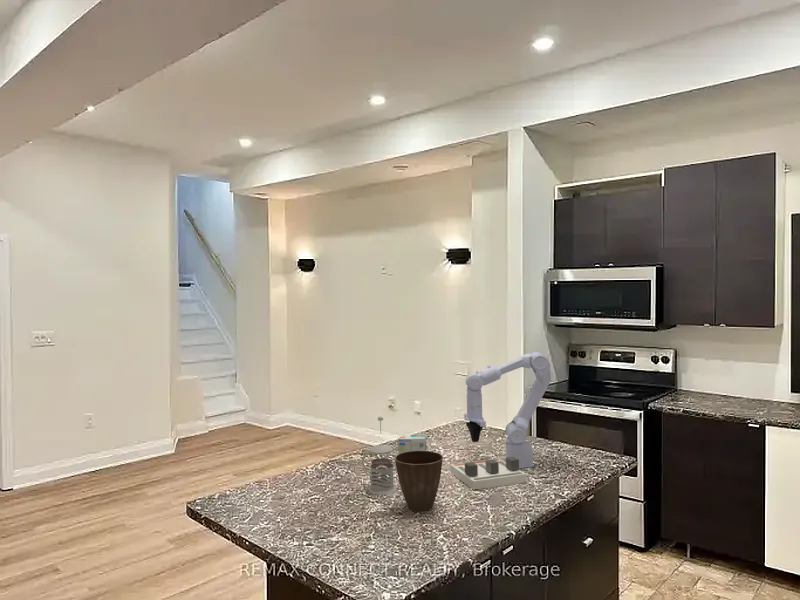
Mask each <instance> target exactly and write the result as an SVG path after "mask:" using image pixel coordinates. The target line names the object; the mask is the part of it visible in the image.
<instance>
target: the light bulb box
mask: <svg viewBox="0 0 800 600" xmlns="http://www.w3.org/2000/svg"><path fill="white" fill-rule="evenodd" d="M397 445H398V446H397V448H398V449H397V450H398V454H401V453H404V452H409V451H428V450H427V449H428V448H427V434H399V436H398V438H397Z"/></svg>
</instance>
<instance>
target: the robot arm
mask: <svg viewBox="0 0 800 600" xmlns="http://www.w3.org/2000/svg"><path fill="white" fill-rule="evenodd" d="M520 368H525V369H532V371H533V373H534V376H535V380H534V382H533V384H532V385H531V388H530V390H529V391H528V394H527V395H526V397H525V399H524V400H523V403H522V405H521V407H520V408H519V410H518V412H517V413H516V415H515V416H513V418H512V420H511V421H510V422H509V423H508V424H506V426H505V428H504V429H505V433H506V436H507V438H506V439H505V456H506V457H505V459H506V458H507V457H515V458H517V459H518V460H519V469H524V468H526V469H527V468H531V467H535V465H534V463H533V462H534V457H533V456H534V453H533V446H532V443H531V442H530V441H528V440H526V437H527V435H526V433H527V431H528V428H529V423H530V421H531V419H532V417H533V415H534V413H535V411H536V409H537V407H538V405H539V404H540V402H541V400H542V398H543V396H544V395H545V392H546V391H547V389H548V387H549V386H550V383H551V382H552V381H551V380H552V378H551V377H552V376H551V363H550V360H549V359H548V357H547V356H546V355H545V354H543V353H541V352H540V351H538V350H533V351H531V352H528V353H525V354H523V355H519V356H518V357H516V358H514V359H512V360H509V361H507V362H505V363H504V364H502V365H499V366H497V365H491V364H489V365H487V367H486V368H484V369H482V370H481V369H480V370H476V371H475V373H474V372H473V373H470V374H468V375H467V376H466V379H465V384H466V386H467V387H466V392H467V393H466V413H464V414H463V415H464V417H463V419H464V421H466V423H465V425H466V427H467V428H468V431H469V434H470V437H471V441H472V442H473V443H478V442H479V440H480V436H481V433H482V430H483V427H487V421H486V420H485V419H484V417H483V395H482V387H483V386H485V387H486V385H489V384H492V383H494V382H496V381H499V380H501V378H502V375H504V374H506V373H507V374H508V373H509V372H512V371H515V370H517V369H518V370H519V369H520ZM467 421H469V422H467Z"/></svg>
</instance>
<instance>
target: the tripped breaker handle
mask: <svg viewBox="0 0 800 600" xmlns="http://www.w3.org/2000/svg"><path fill="white" fill-rule="evenodd" d="M494 459H495V458H492V460H489V459H485V460H486V471H487V472H489V473H490V474H493V473H499V462H497V461H495V460H494Z"/></svg>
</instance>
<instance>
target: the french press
mask: <svg viewBox="0 0 800 600" xmlns="http://www.w3.org/2000/svg"><path fill="white" fill-rule="evenodd" d="M377 421H379V424H380V425H379V427H380V430H379V431H380V433H382V421H384V418H383V416H378V417H377ZM393 450H394V448H392V447H391V446H390V445H388V444H383V443H380V444H375V445H374V446H372V447H371V448H369V452H368V453H366V455H364V456H363V458H362V461H361V466H362V470H363V472H364V473H365V474H366V475H368V476H369V479H370V487H369V488H368V489H369V491H368V493H370V492H371V493H370V494H373V493H374V494H373V495H379V494H380V495H389V494H392V493H395V492H396V491H397V489H396V488H397V486H395V485H394V483H395V482H394V481H395V480H394V465H393V460H392V459H390V458H389V457H388V458H386V457H383V454H384V455H386V454H390V453H392V452H393ZM372 454H376V455H380V457H379V458H374V459H372V460H371V462H370V463H371V466H370V471H368V470H367V468H366V467H365V459H366V457H367V456H369V458H370V459H371V458H372ZM383 466H384V467H383ZM377 467H378V468H377Z"/></svg>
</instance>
